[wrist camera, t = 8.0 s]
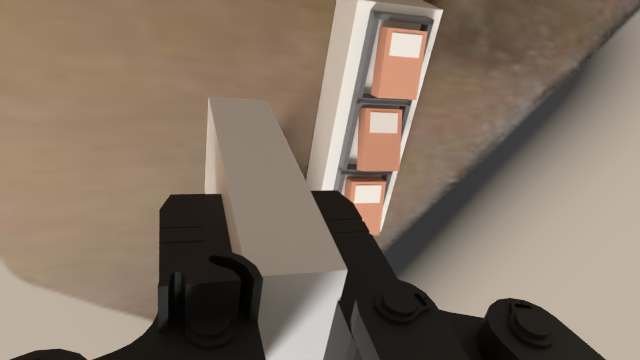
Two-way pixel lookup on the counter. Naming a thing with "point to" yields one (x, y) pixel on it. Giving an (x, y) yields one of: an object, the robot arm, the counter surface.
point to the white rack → (361, 87)
